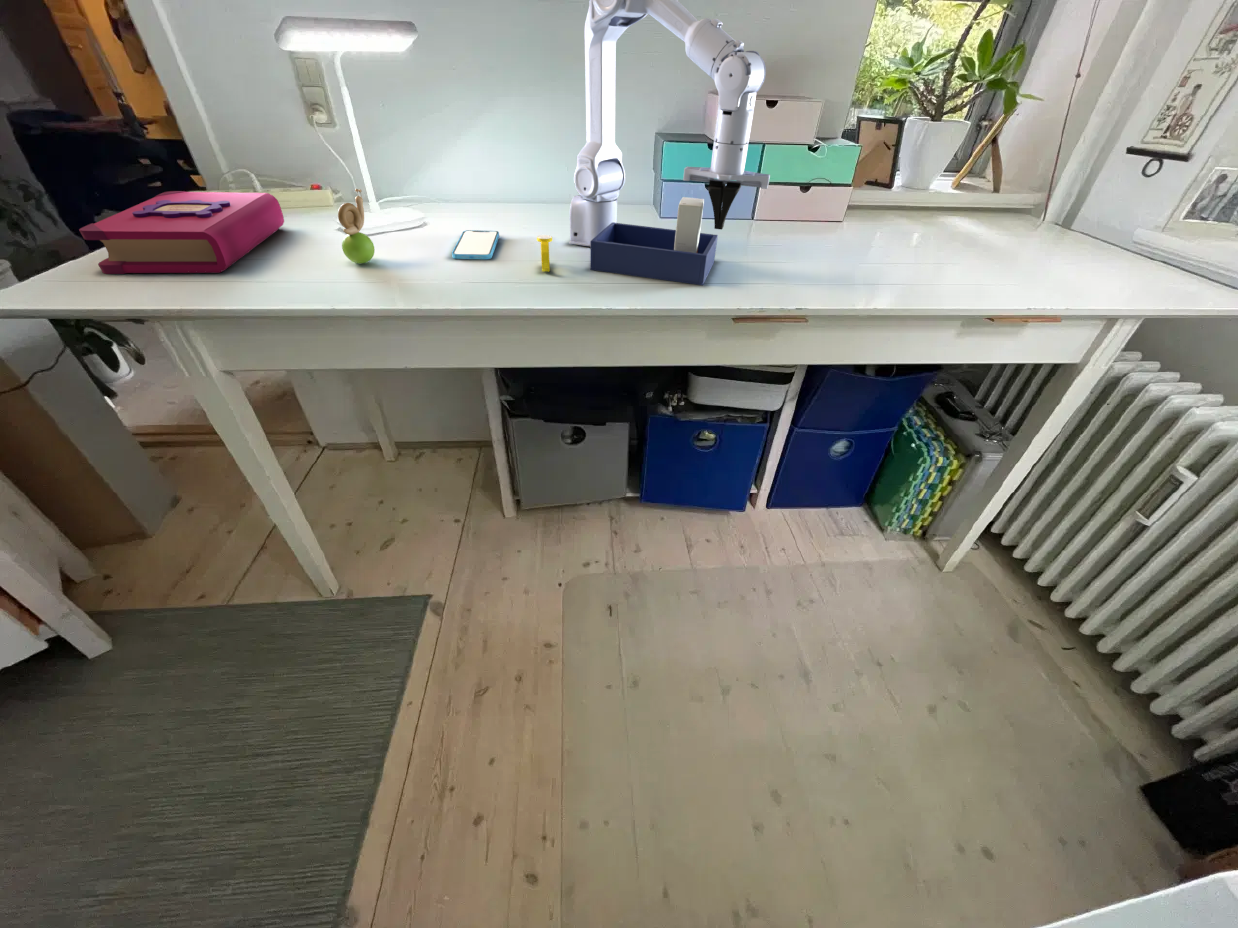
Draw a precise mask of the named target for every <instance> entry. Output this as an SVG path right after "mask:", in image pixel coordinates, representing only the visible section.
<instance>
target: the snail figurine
mask: <svg viewBox="0 0 1238 928" xmlns="http://www.w3.org/2000/svg"><path fill="white" fill-rule="evenodd" d="M354 192H356V193H357V194H359V193H360V194H362V192H363V191H362V189H361V188H355V191H354ZM354 202H355V204H356V205H355V204H354V203H350V202H344V203H342V204H341V205H339V208H338V211H337V219H338V221H339V223H340V225H341V226H342V228H343V229H342V231H343V233H345V236H344V237H343V239H342V240H341V241H342V242H341V249H342V251H343V255H345V257H346V258H347V259H348V260H350V261H351V262H353V263H355V264H367V263H369V262H370V261H372V259H373V257H374V255H375V245H374V242H373V240H372V239H371V238H370V237H369V236H368V235H367V234H366V233H363V232H360V231H361V230H362V228H363V227H364V225H365V209H364V199H363V197H362V195H357V196H355V198H354Z"/></svg>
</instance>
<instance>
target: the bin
mask: <svg viewBox="0 0 1238 928" xmlns="http://www.w3.org/2000/svg"><path fill="white" fill-rule="evenodd" d="M675 235H676V229H673V228H672V229H671V228H662V227H655V226H648V225H647V226H646V225H639V224H638V225H637V224H630V223H629V224H628V223H622V222H617V223H613V222H612V223H611V224H610V225H608V226H607V227H606V228H605V229H604V230H603V231H602V232H600V233H599V234H598V235H597V236H596V237H595V238H593V239H592V240H591V241H590V246H589V247H590V251H589V252H590V254H589V255H590V256H589V257H590V259H589V261H590V263H589V266H590V267H589V268H590V271H597V272H603V273H612V274H617V275H626V276H632V277H638V278H639V277H640V278H647V279H653V280H661V281H668V282H676V283H682V284H683V283H684V284H689V285H696V286H704V284H705V282H706V279H707V277H708V275H709V273H710V271H711V270H712V268H713V266H714V263H715V258H716V253H717V252H716V251H717V243H718V237H719V235H718V234H713V233H704V232H700V237H699V245H698V253H691V252H683V251H676V250H674V244H675Z"/></svg>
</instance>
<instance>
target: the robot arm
mask: <svg viewBox="0 0 1238 928" xmlns="http://www.w3.org/2000/svg"><path fill="white" fill-rule="evenodd" d="M588 3H589V4H588V10H587V14H586V18H585V21H584V72H585V73H584V74H585V76H584V77H585V79H584V80H585V133H586V142H585V144H584V146H582V148H581V150H580V151H579V152H578V154H577V156H576V168H575V171H574V176H573V183H574V188H575V190H576V191H577V193H578V194H576V195H573V197H572V199H571V201H570V205H569V238H570V239H569V241H568V245H569V244H570V245H575V246H584V247H590V241H591V240H592V239H593V238H595V237H596V236H597V235H598V234H599V233H600V232H602V231H603V230H604V229H605V228H606V227H607V226H608V225H610V224H611V223H612V222H613V223H618V222H617V220H618V197H619V196H620V191H621V190H622V189H623V187H624V186H625V183H626V170H625V167H624V164H623V152H622V151H621V149H620V148H619V147H618V145H617V144H616V69H617V67H616V66H617V61H616V60H617V58H616V57H617V52H616V51H617V41H618V39H620V37H621V36H622V35H623V34H624V33H625V31H626V30H627V29H628V28H629V27H631V26H633V25H634V24H636V23H638V22H639V21H641V20H643V19H644V18H646V17H647V16H648V15H649V16H651V17H652V18H653V19H655V20H656V21H657V22H658V23H659V24H660V25H662V26H663V27H664V28H666V29H667V30H668V31H670V32H671V33H672V34H674V35H675V36H676V37H677V38H678V39H680V40H681V41H683V42H684V46H685V47H684V49H685V54H686V57H687V58H688V59H690V61H692V62H693V64H695V65H696V66H697V67H698V68H699V69H701V71H703V72H704V73H705V74H706V75H707V76H709V77H710V78H711V79H712V80H713V81H714V85H715V88H716V90H717V93H718V101H717V114H716V122H715V130H714V139H713V146H712V153H711V161H710V167H707V166H706V167H705V166H686V167H684V168H683V179H682V181H685V182H689V181H693V182H701V183H702V182H703V183H708V186H707V191H708V195H709V198H710V202H711V205H712V210H713V218H714V219H713V220H714V222H713V223H714V227H713V228H714V230H723V228H724V226H725V223H726V218H727V216H728V214H729V211H730V209H731V206H732V204H733V202H734V200H735V198H736V196H737V195H738V193H739V192H740V190H741V188H742V187H753V188H760V189H763V190H768V187H769V184H770V178H771V174H769V173H762V172H755V171H749V170H745V167H746V161H747V157H748V156H747V155H748V150H749V149H748V148H749V142H750V136H751V131H752V124H753V118H754V111H755V105H756V97H757V92H759V91H760V90H761V88H762V86H763V85H764V83H765V81H766V75H767V67H766V63H765V61H764V59H763V57H762V56H761V54H760V53H759V52H758V51H757V50H746V51H745V49H744V46H745V42H744V41H742V40H741V39H735V38H734V37H732V36H731V35H730V34H729V33H728V32H726V31H725V30H724V29H723V28H722V27H723V24H724V23H723V21H721V20H720V19H719V18H715V17H713V18H710V17H705V18H702V19H698V18H697V17H695V16H694V15H693V14H692V13H691V12H690V11H689V10H688V9H687V7H685V5H683V4H682V2H680V0H589V1H588Z"/></svg>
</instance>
